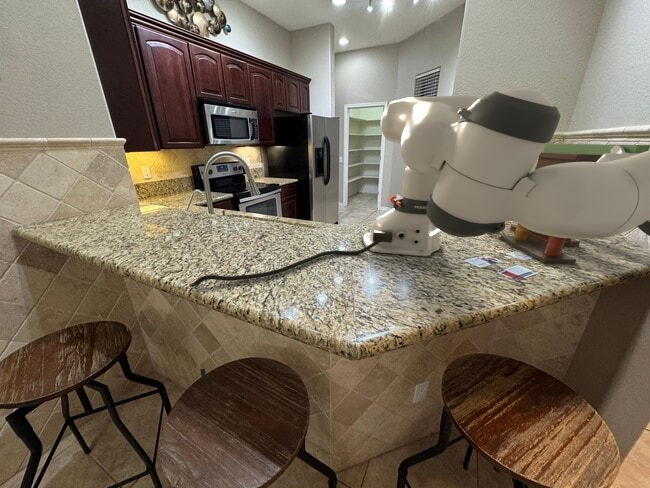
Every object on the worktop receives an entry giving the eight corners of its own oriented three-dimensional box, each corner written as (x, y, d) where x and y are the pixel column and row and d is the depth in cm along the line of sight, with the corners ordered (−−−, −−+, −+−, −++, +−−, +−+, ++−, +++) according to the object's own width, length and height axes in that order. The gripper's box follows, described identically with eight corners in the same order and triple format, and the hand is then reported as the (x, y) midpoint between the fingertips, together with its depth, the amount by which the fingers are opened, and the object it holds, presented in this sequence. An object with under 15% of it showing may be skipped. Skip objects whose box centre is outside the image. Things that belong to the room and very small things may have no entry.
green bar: (632, 156, 59) (637, 144, 58) (542, 152, 83) (545, 143, 82) (645, 156, 59) (651, 144, 58) (552, 152, 83) (554, 143, 82)
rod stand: (544, 263, 67) (566, 199, 60) (499, 238, 83) (514, 186, 77) (575, 263, 67) (600, 199, 60) (524, 239, 83) (540, 187, 77)
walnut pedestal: (545, 246, 78) (577, 154, 68) (509, 229, 93) (532, 151, 83) (578, 246, 78) (615, 154, 68) (537, 229, 93) (563, 152, 83)
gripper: (609, 197, 56) (571, 159, 64) (703, 198, 56) (653, 160, 64) (637, 172, 51) (592, 135, 59) (740, 173, 51) (680, 136, 59)
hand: (624, 148), depth 62 cm, fingers closed on green bar, 3 cm apart
